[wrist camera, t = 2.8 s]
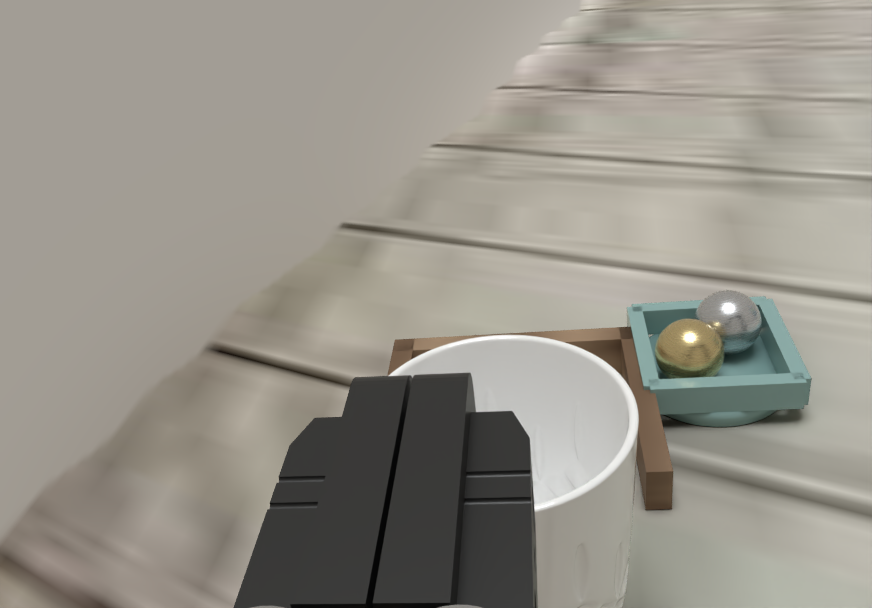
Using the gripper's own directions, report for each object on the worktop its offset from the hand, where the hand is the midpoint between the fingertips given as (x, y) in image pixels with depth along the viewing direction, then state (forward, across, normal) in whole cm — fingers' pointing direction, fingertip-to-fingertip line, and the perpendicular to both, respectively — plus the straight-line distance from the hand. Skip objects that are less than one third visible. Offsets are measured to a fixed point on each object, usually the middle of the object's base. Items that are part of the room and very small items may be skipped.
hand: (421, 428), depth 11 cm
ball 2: (+26, -10, +15) cm, 31 cm away
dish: (+24, -9, +18) cm, 31 cm away
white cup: (+10, 0, +18) cm, 21 cm away
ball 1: (+23, -8, +15) cm, 29 cm away
